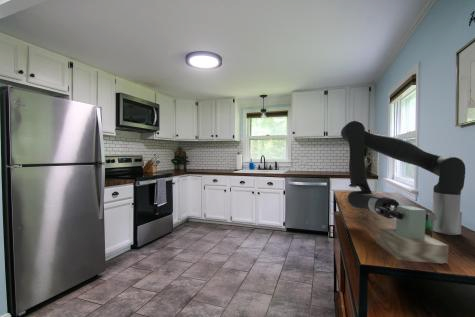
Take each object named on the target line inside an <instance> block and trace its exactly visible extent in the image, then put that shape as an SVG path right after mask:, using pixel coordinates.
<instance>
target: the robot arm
mask: <svg viewBox="0 0 475 317" xmlns="http://www.w3.org/2000/svg"><path fill="white" fill-rule="evenodd" d="M340 135H341V139H342V140H344V141H345V142H347V143H348V147H349V148H348V149H349V161H348V171H349V172H348V173H349V174H348V175H349V179H350V180H349V181H350V182H349V183H350V185H351V186H354V187H358V188H359V189H360V190H355V191H350V192H349V193H348V195H347V201H348V203H349V205H350V206H352V207H354V208H356V209H362V210H367V211H370V212H373V213H374V214H376V215H379V216H381V217H383V218H386V219H394V218H396V219H397V218H398V219H403V213H401V212H398V211H397V206H403V205H402V204H400V203H399V202H398V201H397V200H396V199H393V198H390V197H387V196H384V195H377V194H374V193H372V190H371V188H370V185H369V182H368V179H367V178H368V177H367V170H366V162H365V161H366V160H365V148H368V149H370V150H373V151H374V152H377V153H379V154H382V155H384V156H386V157H388V158H392V159H394V160H395V161H396V160H397V161H400V162H402V163H406V164H410V165H413V166H416V167H419V168H421V169H423V170H426V171H428V172H430V173H431V174H434V175H435V176H437V177H438V182H437V184H435V185H434V186H433V188H432V189H433V192H432V210H431V212H433V213H435V215H436V218H437V220H434V227H433V232H436V233H438V234H443V235H449V236H458V235H461V234H462V217H463V212H462V211H461V196H462V190H463V189H464V186H465V179H466V164H465V162H464V161H463V160H462V158H459V157H455V156H442V155H437V154H433V153H430V152H427V151H424V150H423V149H421V148H419V147H418V146H417V145H416V144H413V143H411V142H410V141H407V140H404V139H401V138H398V137H395V136H389V135H383V134H378V133H373V132H370V131H367V130H366V128H365V125H364V124H363V123H362V122H361V121H359V120H352V121H350V122H349V121H348V123H347V124H345V125H344V126H343V127H342V128H341V131H340ZM426 220H428V214H427V213H426Z"/></svg>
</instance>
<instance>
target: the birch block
mask: <svg viewBox="0 0 475 317" xmlns="http://www.w3.org/2000/svg"><path fill="white" fill-rule="evenodd" d="M375 241H376V244H378V245H379V246H380V247H381V248H382V249H384V250H385V251H386V252H388V253H389V254H390V255H392V256H393V257H394V258H396V260H398V261H404V262H405V261H406V262H417V263H418V262H419V263H431V264H443V263H447V264H446V265H448V264H449V263H448V262H449V244H446V243H444V242H442V241H440V240H438V239H437V238H434V237H433V236H432V237H430V236H428V235H426V234H425V238H424V239H408V238H405V237H403V236H401V235H399V234H397V233H396V228H383V227H382V228H381V227H377V228H376V240H375Z"/></svg>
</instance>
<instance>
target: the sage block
mask: <svg viewBox="0 0 475 317" xmlns="http://www.w3.org/2000/svg"><path fill="white" fill-rule="evenodd" d="M397 211H398V212H401V213H403V219H398V218H396V222H395V223H396V224H395V225H396V226H395V229H396V233H397V234H399V235H401V236H403V237H405V238H408V239H424V238H425V221H426V211H427V210H426V209H423V208H420V207H416V206H412V205H402V206H397Z"/></svg>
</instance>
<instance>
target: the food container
mask: <svg viewBox="0 0 475 317" xmlns="http://www.w3.org/2000/svg"><path fill="white" fill-rule="evenodd" d="M426 213H427V214H428V220H426V221H425V234H426V235H428V236H430V237H432V238H433V233H434V231H433V227H434V220H437V218H436V215H435V213H433V212H432V211H429V210H426Z"/></svg>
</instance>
